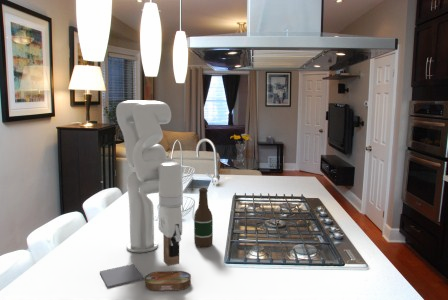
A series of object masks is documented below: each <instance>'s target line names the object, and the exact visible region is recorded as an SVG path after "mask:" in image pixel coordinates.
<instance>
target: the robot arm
mask: <svg viewBox="0 0 448 300" xmlns="http://www.w3.org/2000/svg"><path fill="white" fill-rule="evenodd" d="M115 110H116V111H115V112H116V113H115V114H116V115H115V116H116V119H117V124H118V126H119V129H120V130H121V134H122V136H123V139H124V140H123V141H124V146H125V147H124V148H125V155H126V162H127V164H128V166H129V167H130V168H132V169H134V172H133V171H132V172H130V173H129V174H128V175H127V176H126V179H125V182H126V183H125V184H126V189H127V193H128V195H127V197H128V203H129V205H128V207H129V210H128V211H129V236H130V237H129V238H130V241H129V242H128V243H127V244H126V250H127V251H129V252H132V253H136V254H138V253H139V254H141V253H142V254H143V253H148V252H151V251H154V250H156V249H158V247H159V242H158V241H157V240H155V222H154V219H155V218H154V217H155V215H154V203H153V201H152V200H151V199H150V198H149V196H147V195H151V194H157V193H158V206H159V208H158V230H159V231H160V233H162V234H164V235H165V236H166V237H168V238H170V245H169V256H170V257H175V256H178V255H179V256H180V242H181V241H182V235H183V215H182V205H183V167H182V164H181V163H179V162H176V160H175V159H174V158H168V156H167V152H166V149H165V147H164V146H163V145H162V144H159V143H160V142H161V141H162V139H163V138H164V133H163V130H162V127H161V125H165V124H166V125H167V124H169V123H170V122H171V119H172V111H171V108H170V106H169V104H168V103H166V102H163V101H158V100H125V101H122V102H119V103H118V104H117V106H116V109H115ZM173 234H175V235H173ZM175 237H176V238H175ZM173 238H175V239H174V240H173Z"/></svg>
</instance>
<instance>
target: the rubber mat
mask: <svg viewBox="0 0 448 300" xmlns="http://www.w3.org/2000/svg"><path fill="white" fill-rule="evenodd" d="M99 275H100V276H101V278H102V280H103V282H104V283H105V285H106V288H107V289H110V288H114V287H118V286H122V285H126V284H127V285H128V284H130V283H134V282H140V281H143V280H144V278H145V276H144V275H143V274H142V273H141V271H140V270H139V268H137V266H136V265H135V264H134V263H132V264H126V265H123V266H118V267H114V268H108V269H105V270H104V269H103V270H100V271H99Z"/></svg>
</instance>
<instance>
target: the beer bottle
mask: <svg viewBox="0 0 448 300" xmlns="http://www.w3.org/2000/svg"><path fill="white" fill-rule="evenodd" d="M198 192H199V195H198V206H197V208H196V209H195V212H194V215H193V216H194V217H193V223H194V224H193V225H194V226H193V227H194V229H193V233H194V235H193V238H194V240H193V241H194V245H195V246H196V247H197V248H201V249H203V248H210V247H211V246H212V245H213V242H214V241H213V235H214V234H213V233H214V232H213V230H214V229H213V223H214V222H213V214H212V211H211V210H210V208H209V202H208V189H207V187H201V188H200V187H199V189H198Z"/></svg>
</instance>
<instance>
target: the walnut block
mask: <svg viewBox="0 0 448 300" xmlns="http://www.w3.org/2000/svg"><path fill="white" fill-rule="evenodd" d="M162 234H163V233H162ZM173 235H175V234H173ZM162 238H163V243H162V244H163V263H164V264H166V266H167V267H171V266H177V265H179V264H180V254H179V255H178V256H175V257H170V256H169V245H170V238H168V237H166V236H165V235H164V234H163V237H162ZM175 238H176V237H175ZM175 238H173V240H174V239H175Z"/></svg>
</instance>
